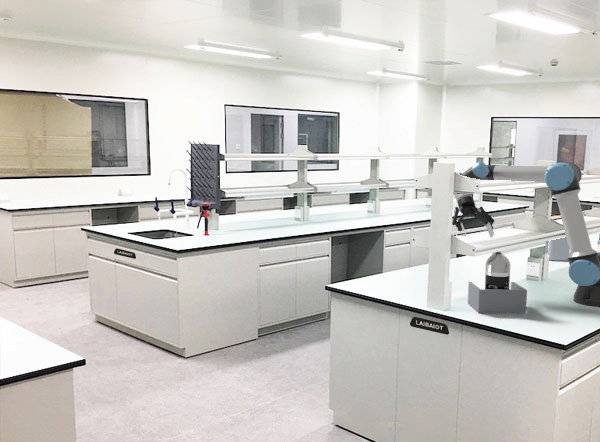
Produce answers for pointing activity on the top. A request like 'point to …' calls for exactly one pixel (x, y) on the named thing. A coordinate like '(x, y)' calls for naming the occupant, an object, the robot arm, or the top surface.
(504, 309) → the box
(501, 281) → the silver and black canister
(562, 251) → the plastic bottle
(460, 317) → the top surface
